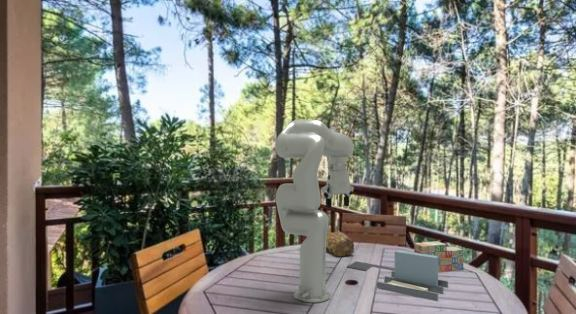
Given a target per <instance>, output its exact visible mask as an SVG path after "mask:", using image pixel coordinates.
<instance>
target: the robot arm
mask: <svg viewBox="0 0 576 314" xmlns="http://www.w3.org/2000/svg"><path fill="white" fill-rule="evenodd" d="M274 149H275V152H276V154H277V156H279V157H280V158H282V159H301V161H300V162H299V163H298V164H297V165H296V166H295V168H294V170H293V172H292V181H293V183H287V182H285V183H282V184H280V185H279V186H278V188H277V190H276V194H275V203H276V208H277V212H278V217H279V221H280V225H281V229H282V230H283V232H284V233H285V234H289V235H296V236H297V235H299V236H304V237H306V238H305V239H304V240H303V241H302V243H301V244H300V246H299V286H298V289H296V291H295V292H293V298H294V299H297V300H299V301H302V302H305V303H322V302H326V301H327V300H329V299H330V297H331V294H330V292H329V291H328V290H327V289H326V287H327V285H326V284H327V283H326V280H327V275H326V274H327V269H326V267H327V260H326V259H327V248H326V238H327V234H328V231H329V230H328V229H329V223H330V221H329V216H328V214H327V213H326V212H325V211H324V210H320V209H319V208H320V206H321V203H322V202H321V201H322V197H321V193H322V195H323V197H324V199H325V207H326V208H330V209H331V208H332V196H333V195H343V196H344V197H343V206H345V207H350V198H351V196H352V195H353V192H354V189H355V187H354V186H352V185H351V183H350V182H351V181H350V174H349V171H348V170H347V164H348V163H347V158H349V157H351V156H353V154H354V150H355V145H354V143H353V140H352V139H351V138H350V136H348V135H346V134H344V133H341V132H338V131H335V130H331V129H329V127H328V126H327V125H326V124H325V123H324V122H322V121H321V120H319V119H295V120H294V119H293V120H292V121H290V122H289V123H288V124H287V125H285V127H284V128H283V129H282V131H281V132H280V133H279V134H278V136H277V137H276V140H275V143H274ZM323 157H325V158H329V165H327V169H328V170H329V171H328V173H327V178H326V184H325V186H323V187H321V189H320V185H319V183H320V182H319V178H318V173H319V168H320V164H321V161H322V159H323Z"/></svg>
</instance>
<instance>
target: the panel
mask: <svg viewBox="0 0 576 314" xmlns="http://www.w3.org/2000/svg"><path fill="white" fill-rule="evenodd" d="M394 268H395V277H393V278H398V279H403V280H408V281H413V282H418V283H423V284H428V285H434V286H438V280H439V272H438V256H433V255H427V254H420V253H414V251H405V250H399V249H397V250H395V251H394Z"/></svg>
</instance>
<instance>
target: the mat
mask: <svg viewBox="0 0 576 314" xmlns="http://www.w3.org/2000/svg"><path fill="white" fill-rule="evenodd" d="M346 268H348V269H353V270H357V271H364V272H367V271H369V269H371V268H377V269H381V270H382V269H383V270H388V271H391V272H392V271H395V267H389V266H383V265H378V264H373V263H367V262H361V261H354V262H352V263H350V264H348V265H347V266H346Z"/></svg>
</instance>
